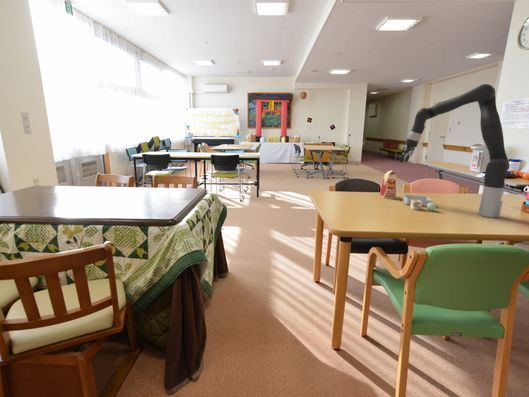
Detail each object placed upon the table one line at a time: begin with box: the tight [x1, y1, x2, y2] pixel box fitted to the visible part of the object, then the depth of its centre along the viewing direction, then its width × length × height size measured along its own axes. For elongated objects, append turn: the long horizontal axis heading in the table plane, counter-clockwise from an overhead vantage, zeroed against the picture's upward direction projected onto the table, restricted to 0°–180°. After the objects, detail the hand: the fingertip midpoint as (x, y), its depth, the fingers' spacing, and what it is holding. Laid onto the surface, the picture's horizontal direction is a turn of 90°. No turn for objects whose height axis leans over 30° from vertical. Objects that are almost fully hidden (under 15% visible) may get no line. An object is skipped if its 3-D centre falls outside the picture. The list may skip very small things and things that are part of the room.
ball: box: [426, 202, 437, 212], centre depth 178 cm, size 5×5×5 cm
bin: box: [401, 194, 434, 207], centre depth 195 cm, size 15×13×4 cm
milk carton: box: [379, 170, 397, 200], centre depth 210 cm, size 9×9×20 cm
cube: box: [410, 200, 423, 211], centre depth 182 cm, size 5×5×5 cm
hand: (403, 161), depth 200 cm, fingers open, 8 cm apart
